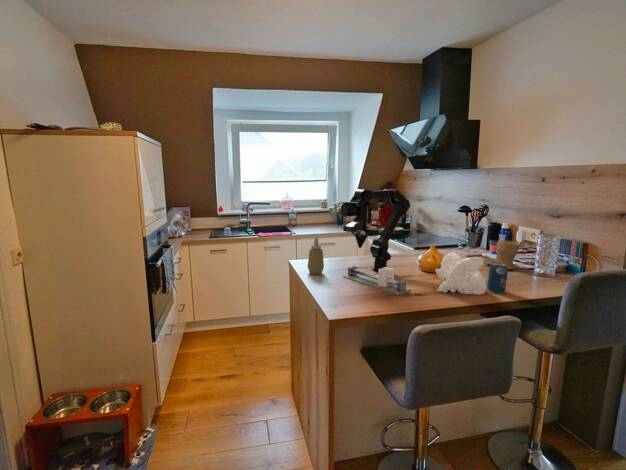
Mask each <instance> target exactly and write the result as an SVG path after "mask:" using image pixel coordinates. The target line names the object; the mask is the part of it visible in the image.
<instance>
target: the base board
mask: <svg viewBox="0 0 626 470" xmlns="http://www.w3.org/2000/svg"><path fill="white" fill-rule="evenodd" d="M342 277H343V278H345V279H348V280H351V281H353V282H357V283H359V284H363V285H367V286H368V287H369V286H370V287H372V288H375V289H379V290H382V291H384V292H387V293H391V294H394V295H396V296H399V295H402V294H404V293H408V292H410V291H411V288H408V287H406V290H404V291H401V292H398V291H397V286H396V285H391V286H387V287H383V286H379V285H378V280H376V279H373V278H369V277H366V276H363V275H360V274H357V275H353V276H348V274H346V275H342Z"/></svg>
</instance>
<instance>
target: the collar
mask: <svg viewBox="0 0 626 470" xmlns="http://www.w3.org/2000/svg"><path fill="white" fill-rule="evenodd" d="M377 275H378V285H379V286H383V287H387V286H391V285H392V284H389V283H387V280H388V279H392V280H395V268H392V267H389V266H387V267H385V268H381V269H378V271H377Z"/></svg>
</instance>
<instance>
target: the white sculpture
mask: <svg viewBox="0 0 626 470" xmlns="http://www.w3.org/2000/svg"><path fill="white" fill-rule="evenodd" d="M483 261H484V259H483V258H482V257H480V256H472V257H466V258H463V257H462V256H461V255H460V254H458V253H456V252H454V251H450V252H448V253H447V254H446V255H444V256H443V257H442V260H441V262H440V268H435V272H436V273H435V274H436V275H437V276H438V278H439V280H441V281H443V282H442V284H440V285H439V287H438V288H437V289H436V291H437V292H439V293H440V292H441V293H442V292H443V293H448V292H449V291H450V293H456V291H457V292H458V293H459V294H466V295H470V294H471V295H484V294H485V292H486V291H487V289H488V287H487V283H486V282H487V279H485V278H484V276H483V274H482V273H481V271H479V269H480V268H481V266H482V265H483V264H484V262H483Z"/></svg>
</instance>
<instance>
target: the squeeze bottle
mask: <svg viewBox="0 0 626 470" xmlns="http://www.w3.org/2000/svg"><path fill="white" fill-rule="evenodd" d="M308 251H309V252H308V260H307V270H308V272H309V274H310V275H313V276H320V275H322V273H323V271H324V268H325V263H324V250H323V249H322V244H320V243H319V239H318V237H317V236H315V237H314V241H313V244H311V248H309V250H308Z"/></svg>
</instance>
